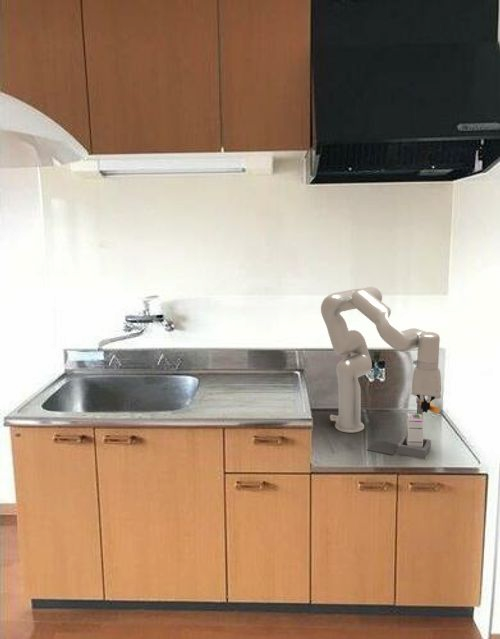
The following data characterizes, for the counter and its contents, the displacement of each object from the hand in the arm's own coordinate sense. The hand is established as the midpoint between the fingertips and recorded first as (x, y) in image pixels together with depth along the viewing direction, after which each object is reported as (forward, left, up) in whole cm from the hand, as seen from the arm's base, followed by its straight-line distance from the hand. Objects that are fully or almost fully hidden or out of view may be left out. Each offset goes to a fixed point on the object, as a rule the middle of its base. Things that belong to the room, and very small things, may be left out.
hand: (425, 411), depth 190 cm
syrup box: (-4, -1, -17) cm, 18 cm away
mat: (-15, -3, -17) cm, 23 cm away
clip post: (-4, +8, -17) cm, 19 cm away
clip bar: (0, +4, 0) cm, 4 cm away
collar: (-4, -1, -17) cm, 17 cm away
